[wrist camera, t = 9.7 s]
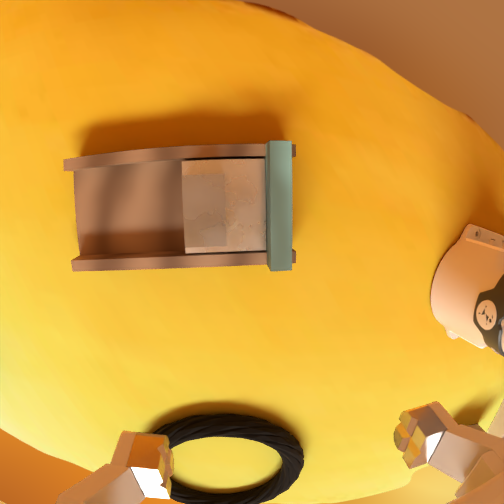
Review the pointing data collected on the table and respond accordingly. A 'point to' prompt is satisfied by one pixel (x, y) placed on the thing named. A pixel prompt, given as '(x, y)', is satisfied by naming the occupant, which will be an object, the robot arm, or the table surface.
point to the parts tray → (498, 423)
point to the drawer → (169, 208)
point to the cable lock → (237, 428)
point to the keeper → (224, 205)
